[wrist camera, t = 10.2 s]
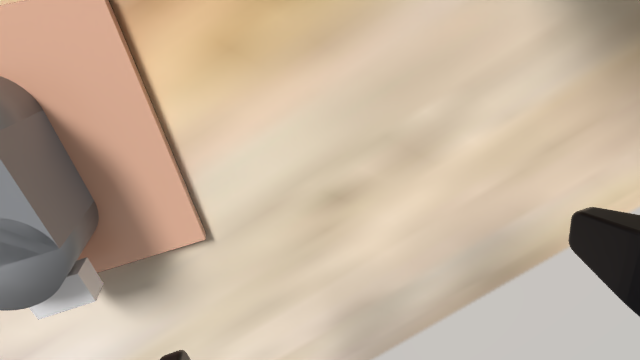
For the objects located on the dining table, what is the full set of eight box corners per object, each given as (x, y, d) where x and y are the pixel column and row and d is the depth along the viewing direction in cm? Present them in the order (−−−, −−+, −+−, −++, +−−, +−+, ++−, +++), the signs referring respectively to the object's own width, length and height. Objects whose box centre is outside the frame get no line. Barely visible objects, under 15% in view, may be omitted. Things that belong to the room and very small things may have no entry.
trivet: (102, -13, 14) (98, -15, 13) (205, 233, 19) (205, 239, 19) (-254, 58, 12) (-276, 60, 12) (-35, 307, 18) (-43, 315, 17)
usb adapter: (-100, 86, 13) (-218, 108, 10) (15, 60, 14) (-57, 72, 10) (45, 286, 18) (0, 352, 14) (127, 260, 18) (105, 318, 15)
